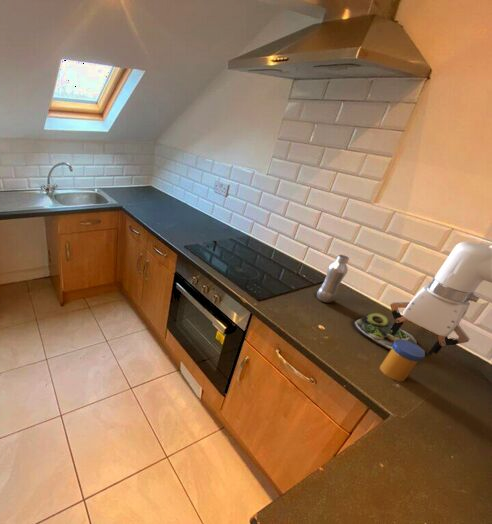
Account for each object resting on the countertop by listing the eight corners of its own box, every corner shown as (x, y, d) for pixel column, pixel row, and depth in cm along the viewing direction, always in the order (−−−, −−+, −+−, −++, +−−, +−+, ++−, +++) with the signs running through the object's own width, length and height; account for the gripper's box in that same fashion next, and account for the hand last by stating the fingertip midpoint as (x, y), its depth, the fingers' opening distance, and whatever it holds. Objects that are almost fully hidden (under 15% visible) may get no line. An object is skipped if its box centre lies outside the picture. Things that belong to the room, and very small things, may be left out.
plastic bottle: (335, 302, 122) (356, 258, 113) (327, 306, 119) (348, 262, 109) (320, 294, 127) (339, 251, 117) (311, 298, 123) (331, 254, 114)
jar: (400, 372, 90) (418, 346, 85) (406, 387, 85) (426, 360, 80) (376, 364, 92) (392, 338, 87) (380, 378, 87) (398, 351, 82)
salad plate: (432, 348, 102) (439, 338, 99) (408, 365, 93) (416, 354, 91) (371, 315, 116) (377, 305, 114) (346, 327, 108) (352, 317, 105)
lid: (417, 349, 86) (420, 344, 85) (425, 365, 80) (429, 360, 79) (388, 340, 88) (391, 335, 88) (395, 355, 83) (398, 350, 82)
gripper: (500, 305, 71) (455, 359, 79) (412, 271, 83) (381, 320, 91) (494, 314, 67) (447, 370, 75) (402, 277, 79) (371, 328, 87)
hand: (411, 342), depth 83 cm, fingers open, 8 cm apart
